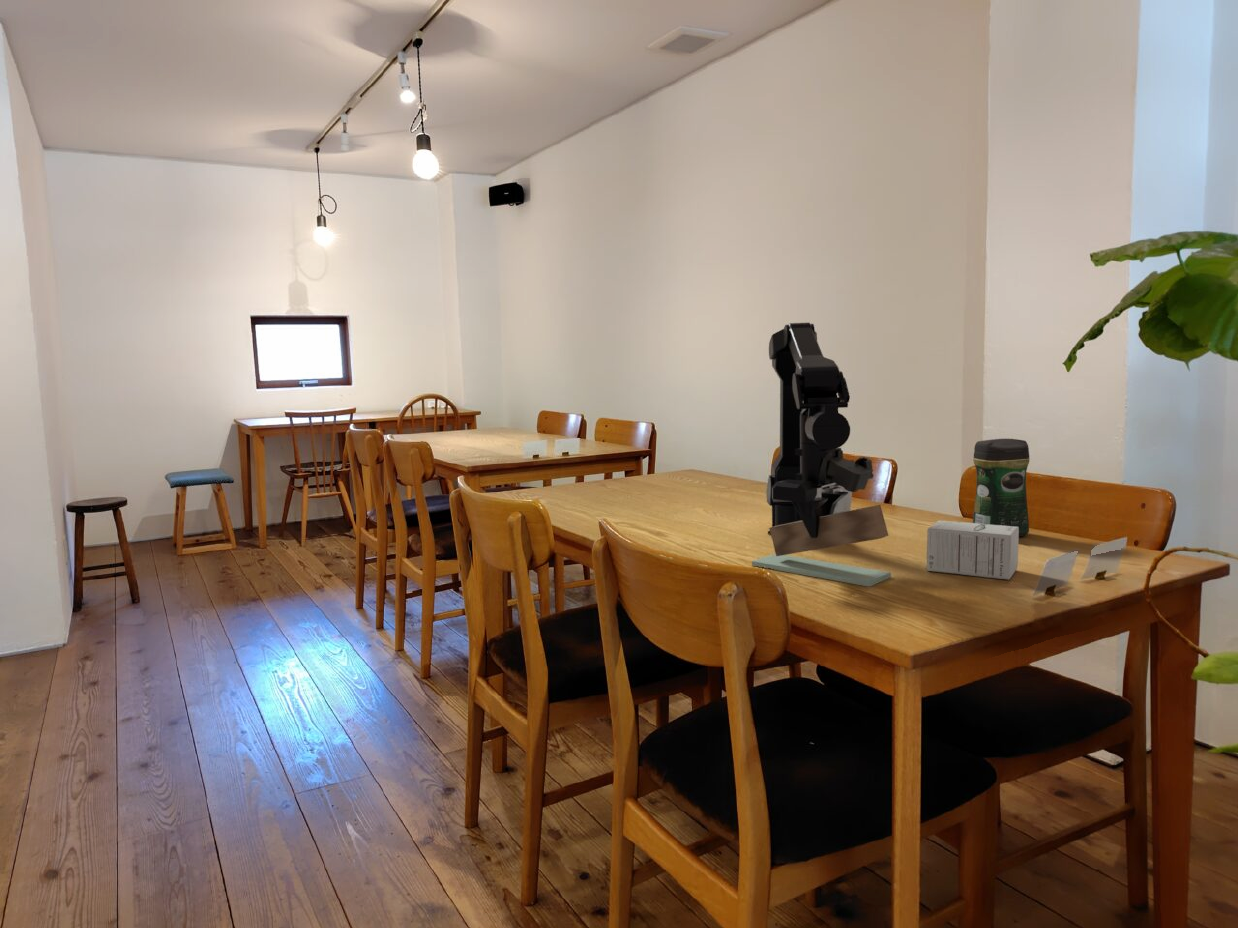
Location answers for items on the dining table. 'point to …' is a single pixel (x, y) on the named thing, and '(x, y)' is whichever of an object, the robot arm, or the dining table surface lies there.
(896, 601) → the dining table surface
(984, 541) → the supplement box
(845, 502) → the cup
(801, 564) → the tool mat
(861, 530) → the wooden plank
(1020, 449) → the coffee jar
